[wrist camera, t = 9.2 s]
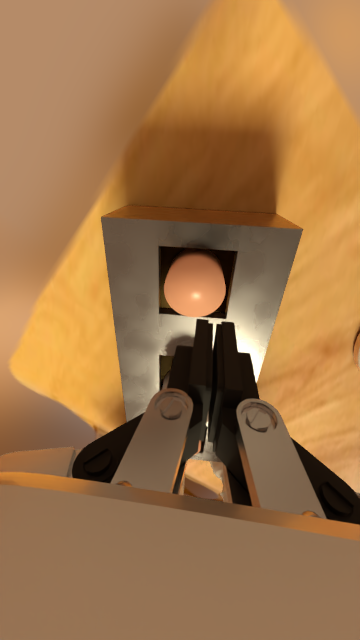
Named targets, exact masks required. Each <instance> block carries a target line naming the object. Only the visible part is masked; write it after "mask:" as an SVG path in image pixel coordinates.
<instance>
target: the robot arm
mask: <svg viewBox="0 0 360 640" xmlns="http://www.w3.org/2000/svg"><path fill="white" fill-rule="evenodd" d="M353 356H354V361H355V364H356V366H357V367H358V369H359V371H360V334H359V335H358V337H357V340H356V343H355V345H354V354H353ZM207 416H208V442H212V443H213V452H215V455H216V456H217V457H218V458H219V459H220V460H221V461H222V462H223V473H224V479H225V485H226V491H227V497H228V503H227V502H221V501H215V500H209V499H202V498H196V497H190V496H184V495H179V493H180V489H181V485H182V481H183V477H184V473H185V469H186V465H187V460H188V459H189V458H191V457H192V456H193V455H194V454H196V453H197V452H198V447H199V441H204V435H205V429H206V423H207ZM0 640H360V494H359V493H356V492H354V490H353V489H352V488H351V487H350V486H349V485H348V484H347V483H346V482H344V481H343V480H342V479H341V478H339V477H338V476H337V475H336V474H335V473H333V472H332V471H331V470H330V469H329V468H327V467H326V466H325V465H324V464H323V463H321V462H320V461H319V460H318V459H316V458H315V457H314V456H313V455H312V454H310V453H309V452H308V451H307V450H306V449H304V448H303V447H302V446H301V445H300V444H298V443H297V442H296V441H295V440H294V439H292V438H291V437H290V435H289V433H288V431H287V428H286V426H285V424H284V422H283V419H282V417H281V415H280V414H279V412H278V411H277V410H276V409H275V408H274V407H273V406H272V405H270V404H269V403H267V402H265V401H263V400H260V399H259V394H258V389H257V384H256V379H255V374H254V369H253V364H252V359H251V355H250V353H245V352H238V347H237V339H236V332H235V324H234V322H225V321H222V322H221V324H217V325H216V331H215V338H214V345H213V323H209V320H205V319H197V321H196V329H195V337H194V344H193V347H192V346H183V345H177V346H176V350H175V355H174V359H173V364H172V368H171V372H170V377H169V381H168V386H167V389H163V390H161V391H159V392H157V393H156V394H155V395H154V396H153V397H152V399H151V400H150V402H149V404H148V407H147V409H146V411H145V412H144V413H142V414H140V415H139V416H137V417H135V418H133V419H132V420H130V421H128V422H127V423H125V424H123V425H121V426H120V427H118V428H116V429H114V430H113V431H111V432H109V433H107V434H106V435H104V436H102V437H101V438H99V439H97V440H95V441H94V442H92V443H90V444H89V445H87V446H86V447H85V448H83V449H79V450H75V448H74V447H66V448H54V449H42V450H31V451H20V452H12V453H8V454H4V455H3V456H1V457H0Z"/></svg>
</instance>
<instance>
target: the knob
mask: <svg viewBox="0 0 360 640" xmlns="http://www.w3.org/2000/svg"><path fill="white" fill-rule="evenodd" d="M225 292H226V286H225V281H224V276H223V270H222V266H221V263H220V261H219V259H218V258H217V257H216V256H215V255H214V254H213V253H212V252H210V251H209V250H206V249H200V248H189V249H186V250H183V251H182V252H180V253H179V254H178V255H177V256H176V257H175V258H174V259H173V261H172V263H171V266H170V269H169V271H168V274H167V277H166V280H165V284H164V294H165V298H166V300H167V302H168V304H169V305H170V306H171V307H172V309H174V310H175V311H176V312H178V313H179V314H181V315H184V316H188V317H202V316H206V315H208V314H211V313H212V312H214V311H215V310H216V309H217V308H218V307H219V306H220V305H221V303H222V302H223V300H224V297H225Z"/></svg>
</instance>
